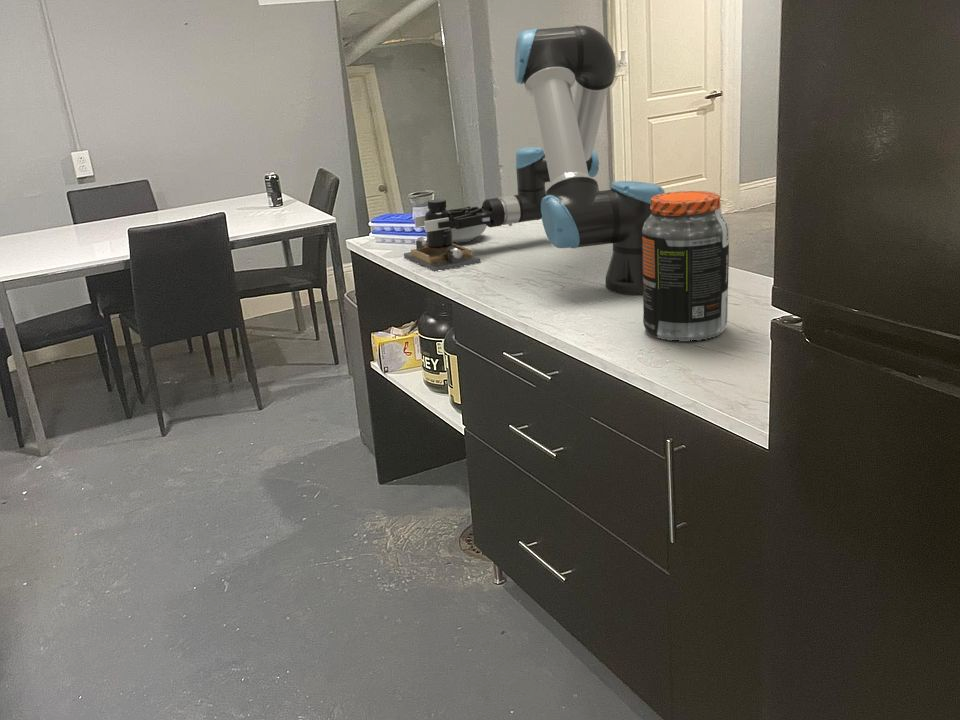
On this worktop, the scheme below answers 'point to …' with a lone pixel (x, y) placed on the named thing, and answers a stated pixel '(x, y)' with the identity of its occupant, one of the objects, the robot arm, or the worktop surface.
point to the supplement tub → (685, 266)
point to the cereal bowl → (467, 233)
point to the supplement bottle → (440, 236)
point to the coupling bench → (440, 256)
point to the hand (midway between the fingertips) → (420, 224)
